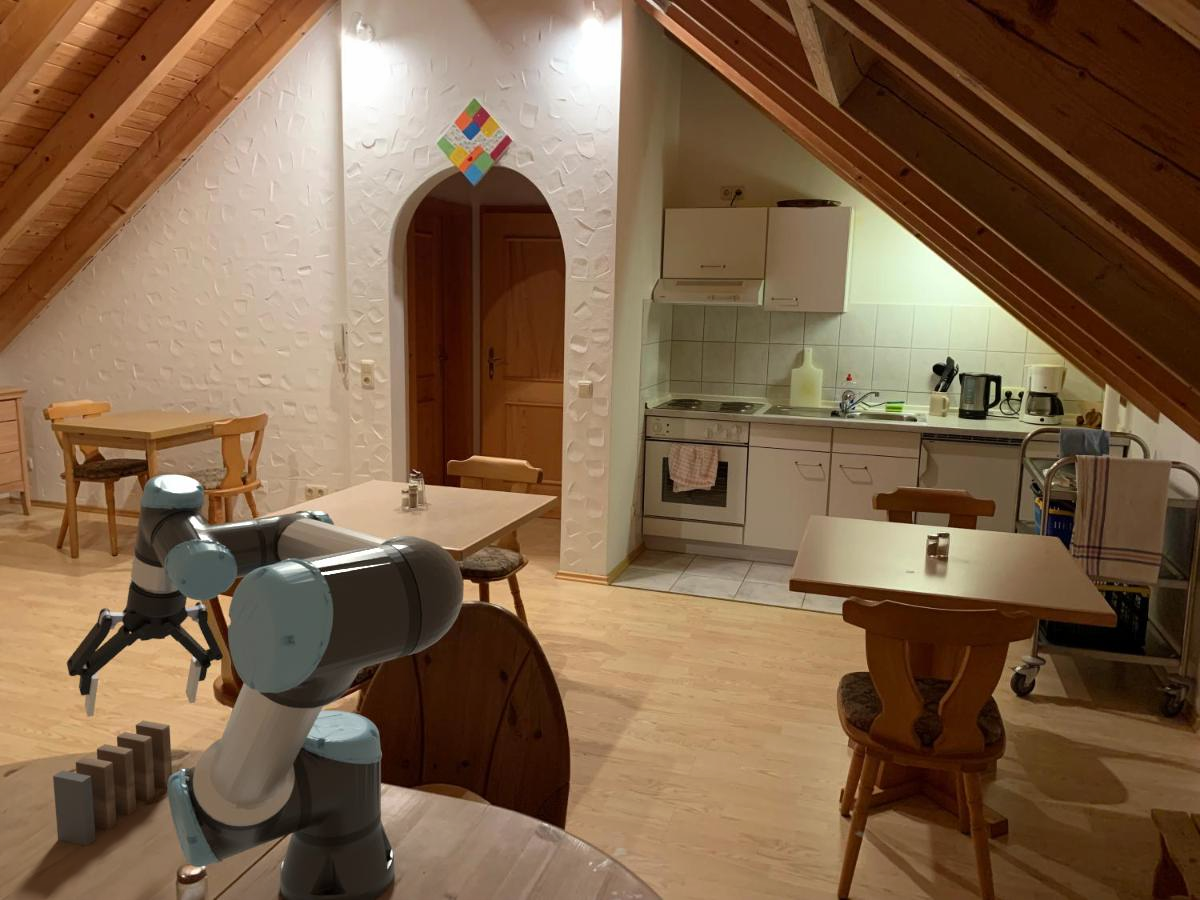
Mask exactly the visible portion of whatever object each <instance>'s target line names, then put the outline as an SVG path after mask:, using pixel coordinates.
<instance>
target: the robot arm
mask: <svg viewBox="0 0 1200 900" xmlns="http://www.w3.org/2000/svg"><path fill="white" fill-rule="evenodd" d="M204 495H205V489H204V487H203V485H202V484H201V483H200V482H199V481H198V480H196V479H194V478H192V477H190V476H186V475H182V474H175V473H174V474H161V475H156V476H154V477H152V478H150V479H149V480H147V482H145V484H144V488H143V493H142V497H141V501H140V502H139V506H140V508H139V509H140V510H139V515H138V516H139V517H138V524H137V531H136V538H135V539H136V540H135V547H134V554H133V561H132V567H131V573H130V578H131V579H130V580H129V587H128V594H127V601H126V606H125V608H124V610H122V611H121V612H120V611H118V612H117V611H114V612H113V611H110V609H109V608H107V607H106V608H105V607H104V608H102V609H100V611H99V614H98V618H97V621H96V623H95V624H94V626H93V627H92V628H91V629H90V630H89V632H88V633H87V635H86V636H85V637H84V639H83V640H82V641H81V642H80V644H79V645H78V646H77V648H76V649H75V650H74V652H73V653H72V654H71V656H70V657H69V658H68V660H67V662H66V666H67V670H68V675H69V676H70V677H76V676H79V683H78V688H79V693H80V695H81V696H85V697H84V698H85V700H84V708H85V713H86V716H87V717H88V718H90V717H93V716H94V714H95V707H96V705H95V704H96V698H97V692H98V683H99V675H98V672H99V671H100V670H101V669H102V668H104V667H105V666H106V665H107V664H108V663H110V661H112V660H113V659H114V658H115V657H117V655H118V654H120V653H121V652H123V650H125V648H126V647H130V646H132V645H133V644H134V643H135V642H137V641H138V640H140V641H141V642H143V641H150V640H162V639H163V640H165V638H166V637H169V636H171V638H172V639H174V641H176V642H178V643H179V644H180V645H181V646H182V647H183V648H184V649H185V650H186V651H188V653H189V654H190V655H191V659H190V663H189V664H190V665H189V670H188V675H187V676H188V677H187V681H186V682H187V683H186V688H185V693H186V697H187V699H188V700H187V701H188V702H189V704H192V703H196V697H197V694H198V687H199V682H203V681H205V680H206V678H207V672H208V668H210V667H211V666H212V663H211V662H212V661H220V660H222V659H223V656H224V655H223V653H222V651H221V648H220V646H219V644H218V641H217V639H216V638H215V634H214V633H213V631H212V629H211V627H210V625H209V623H208V618H209V617H208V616H209V614H208V613H209V612H208V610H207V608H206V605H205V603H204V602H203V601H207V600H212V599H215V598H217V596H219V595H221V594H222V593H225V592H227V591H228V590H229V589H230V588H231V587H232V585H233V584H234V583H235V580H236V579H239V578H242V579H241V581H240V582H239V583H238V585H237V586H236V588H235V589H234V592H233V594H232V598H231V601H230V604H229V609H228V617H229V621H230V624H229V625H228V626H227V636H228V647H229V653H230V656H231V660H232V663H233V665H234V668H235V671H236V672H237V675H238V676H239V678H240V679H241V681H242V682H243V684H242V686H241V689H240V691H239V694H238V696H237V699H236V701H235V704H234V706H233V709H232V711H231V712H230V715H229V718H228V721H227V723H226V726H225V728H224V731H223V734H222V736H221V738H219V739H218V740H216V741H214V742H213V743H212V744H211V745H209V746H208V747H207V748H206V750H205V751H204V752H203V753H202V754H201V755H200V757H199V759H198V761H197V762H196V765H195V766H192V767H191V766H190V767H184V768H182V769H181V770H179V771H176V772H174V773H172V775H171V776H170V777H169V779H168V783H167V787H166V788H167V796H168V797H167V798H168V803H169V807H170V813H171V817H172V822H173V827H174V829H175V833H176V837H177V840H178V843H179V846H180V849H181V851H182V854H183V856H184V858H185V861H186V862H187V864H189V865H190V866H192V867H195V868H201V867H205V866H209V865H212V864H219V863H221V862H223V860H225V859H228V858H231V857H233V856H235V855H238V854H241V853H244V852H246V851H248V850H251V849H254V848H256V847H259V846H261V845H262V846H263V845H265V844H267V843H269V842H272V841H274V840H277V839H280V838H282V837H285V836H288V835H290V834H291V836H290V838H289V839H290V840H289V842H288V845H287V849H286V851H285V855H284V858H283V861H282V863H281V865H280V871H279V883H280V885H279V887H280V893H281V895H282V898H283V899H284V900H376V899H377V898H378V897H380V896H381V895H382V894H383V893H384V892H385V891H386V890H387V889H388V888H389V886H390V885H391V883H392V881H393V880H394V879H393V878H394V876H395V875H394V874H395V856H394V851H393V849H392V848H393V847H392V845H391V842H390V839H389V838H388V834H387V832H386V830H385V828H384V825H383V823H382V822H383V821H382V791H381V790H382V778H381V777H382V770H381V768H382V764H381V762H382V761H381V760H382V758H383V753H382V749H381V739H380V732H379V729H378V728H377V726H376V724H375V723H374V722H373V721H372V720H370V719H369V718H368V717H365V716H363V715H361V714H358V713H354V712H352V711H345V710H331V709H330V710H329V709H328V710H327V709H326V710H322V709H323V707H325V706H328V705H330V704H333V703H334V702H336V701H337V700H338V699H340V698H341V697H343V695H344V694H346V692H347V691H348V690H349V689H350V687H351V686H352V684H353V682H354V680H355V679H356V677H357V675H358V674H359V671H360V670H362V669H364V668H367V667H372V666H373V665H374V666H375V665H377V664H381V663H384V662H385V663H386V662H388V661H392V660H395V659H399V658H403V657H407V656H410V655H413V654H417V653H420V652H422V651H424V650H426V649H427V648H429V647H431V646H432V645H434V644H435V643H437V642H438V641H439V640H441V638H443V637H444V635H446V634H447V633H448V632H449V630H451V628H452V626H453V625H454V624H455V622H456V620H457V618H458V617H459V613H460V611H461V609H462V605H463V600H464V588H465V587H464V580H463V576H462V572H461V569H460V567H459V565H458V563H457V561H456V560H455V559H454V556H453V555H451V553H450V552H449V551H447V550H446V549H445V548H444V547H443V546H441V545H439V544H437V543H435V542H433V541H430V540H427V539H425V538H424V539H423V538H420V537H417V536H416V537H415V536H411V535H398V536H394V537H391V538H389V539H388V538H384V537H381V536H376V535H373V534H369V533H366V532H361V531H357V530H353V529H350V528H347V527H346V528H345V527H343V526H339V525H335V523H334V520H333V519H332V518H331V517H330V516H329V514H328V512H325V511H324V510H317V509H316V510H298V511H296V512H293V513H292V512H291V513H284V514H279V515H273V516H266V517H265V516H264V517H260V518H259V517H258V518H250V519H244V520H236V521H229V522H222V523H215V524H210V523H209V521H208V520H207V519H206V517H205V516H204V514H203V506H204V504H205V501H204V500H205V499H204V498H205V497H204ZM188 598H189V599H190V600H191V599H192V600H195V601H197V602H196V603H195V605H193V606H188V607H186V604H187V599H188ZM188 617H189V618H191V620H192V621H193V622H195V623H197V625H198V627H199V629H200V631H201V634H202V636H203V637H204V639H205V641H206V644H207V645H208V648H207V649H205V648H204V647H203V646H202V645H201V644H200V643H199V642H198V641H197V640H196V638H195V639H194V637H193V636H192V635H191V634H189V632H188V631H187V630H186V629H185V628H184V627H183V626H182V625H181V624H182V623H183V622H185V620H186V619H187V618H188ZM119 623H122V625H121V626H120V627H119V628H118V630H117V632H116V633H115V634H114V635H113V636H111V637H110V638H108V640H107V641H106V642H104V641H105V639H106V638H107V637H108V635H109V633H110V631H111V630H114V629H115V627H116V626H117V625H118V624H119ZM103 642H104V643H103ZM102 643H103V644H102Z"/></svg>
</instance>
